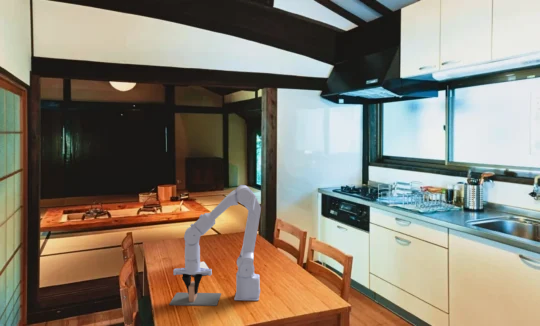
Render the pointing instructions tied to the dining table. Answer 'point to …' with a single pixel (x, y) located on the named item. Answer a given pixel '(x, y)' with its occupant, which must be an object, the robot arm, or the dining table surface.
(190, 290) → the tile
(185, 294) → the mat
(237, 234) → the dining table surface
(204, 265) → the phone case
